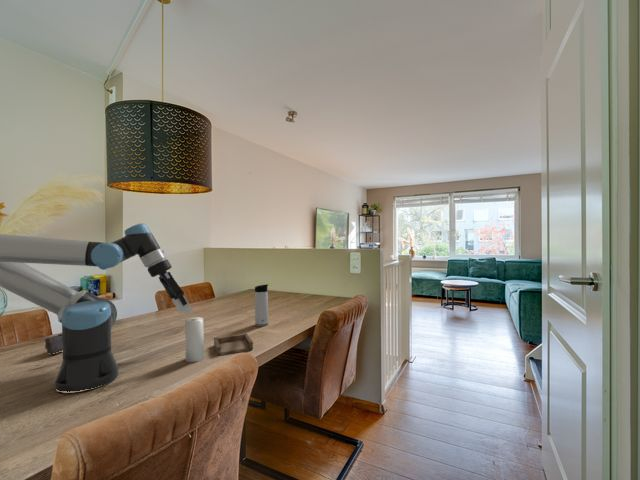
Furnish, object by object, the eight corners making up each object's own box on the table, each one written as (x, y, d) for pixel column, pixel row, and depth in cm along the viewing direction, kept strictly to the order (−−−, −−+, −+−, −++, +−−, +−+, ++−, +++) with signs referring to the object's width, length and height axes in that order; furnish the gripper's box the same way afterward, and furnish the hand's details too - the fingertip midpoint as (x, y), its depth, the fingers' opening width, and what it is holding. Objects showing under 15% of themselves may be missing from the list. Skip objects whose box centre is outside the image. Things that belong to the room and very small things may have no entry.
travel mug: (265, 326, 145) (265, 285, 145) (253, 326, 146) (252, 285, 146) (270, 323, 151) (270, 283, 151) (258, 322, 152) (257, 283, 152)
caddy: (217, 355, 109) (217, 347, 109) (214, 345, 120) (213, 338, 120) (252, 349, 115) (252, 342, 115) (246, 340, 125) (246, 333, 125)
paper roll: (185, 363, 103) (185, 322, 103) (185, 357, 108) (185, 318, 108) (204, 360, 105) (203, 320, 105) (203, 354, 111) (202, 316, 111)
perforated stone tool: (76, 343, 125) (76, 327, 125) (87, 344, 125) (87, 327, 125) (38, 357, 110) (38, 339, 110) (51, 358, 110) (50, 339, 110)
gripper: (171, 254, 102) (202, 307, 105) (163, 261, 123) (189, 305, 125) (148, 265, 98) (182, 319, 101) (144, 271, 119) (172, 316, 121)
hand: (186, 312), depth 113 cm, fingers open, 13 cm apart
